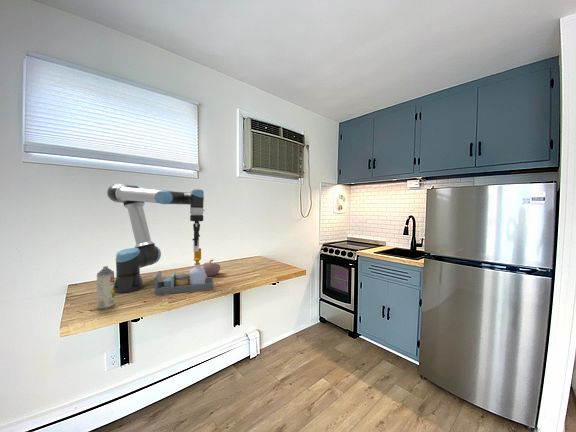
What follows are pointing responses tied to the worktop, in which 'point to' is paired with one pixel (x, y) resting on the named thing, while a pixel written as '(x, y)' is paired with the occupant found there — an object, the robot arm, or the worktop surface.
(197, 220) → the robot arm
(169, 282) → the pusher
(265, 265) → the worktop surface
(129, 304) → the worktop surface
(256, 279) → the worktop surface
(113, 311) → the worktop surface
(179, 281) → the amber jar
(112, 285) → the aerosol can
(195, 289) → the grey slotted block
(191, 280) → the soap bottle
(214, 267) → the pink pumpkin
